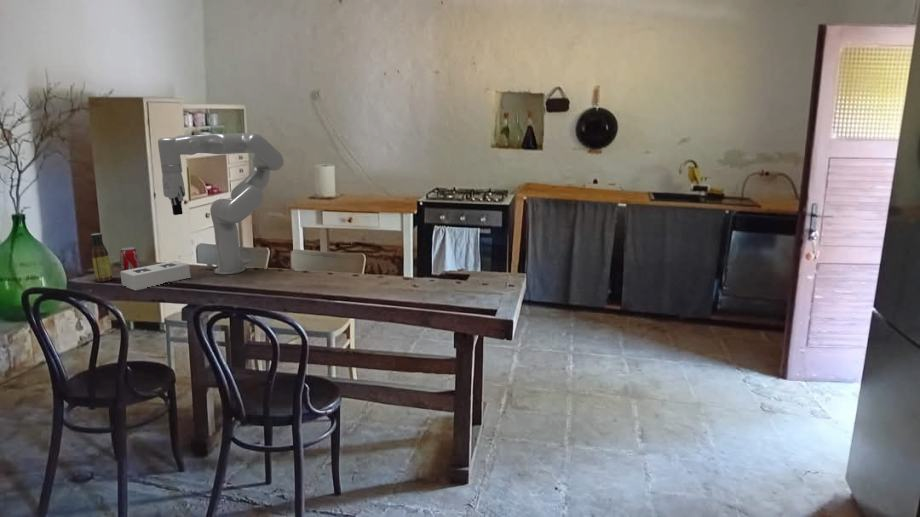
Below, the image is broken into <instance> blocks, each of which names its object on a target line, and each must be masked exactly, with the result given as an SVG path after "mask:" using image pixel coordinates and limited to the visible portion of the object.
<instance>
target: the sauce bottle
mask: <svg viewBox="0 0 920 517" xmlns="http://www.w3.org/2000/svg"><path fill="white" fill-rule="evenodd" d="M90 239H91V241H92V248H91V251H90V254H91V260H92V265H93V270H94V271H93V272H94V278H95V280H96V282H99V283H103V282H109V281H111V280H113V271H112V267H111V260H110V256H109V252H108V250H107V248H106V246H105V244H104V242H103V235H102V233H101V232H95V233H91V234H90Z"/></svg>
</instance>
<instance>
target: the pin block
mask: <svg viewBox="0 0 920 517" xmlns="http://www.w3.org/2000/svg"><path fill="white" fill-rule="evenodd" d="M166 264H174V265H175V266H171V267H166V268H164V267H162V266H163V265H166ZM141 269H148V271H146V272H141V273H136V272H135V271H136V270H141ZM186 278H192V277H191V269H190V264H188V263H184V262H181V261H178V260H171V261H168V262H162V263H158V264H157V263H155V264H152V265H146V266H140V268H135V269H130V270H124V271H122V270H121V271H120V279H121V286H122V285H123V286H122V287H124V286H126V287H125V288H127V289H130V290H133V291H134V292H135V291H140V290H144V289H148V288H147V287H150V288H152V287H151V286H154V287H157V286H156V285H159V286H161V285H160V284H163V283H165V282H168V281H173V280H179V279H186Z"/></svg>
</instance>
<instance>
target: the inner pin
mask: <svg viewBox="0 0 920 517" xmlns="http://www.w3.org/2000/svg"><path fill="white" fill-rule="evenodd" d="M171 266H175V265H174V264H166V265H163V266H162V267H164V268H166V267H171Z"/></svg>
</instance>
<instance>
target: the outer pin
mask: <svg viewBox="0 0 920 517" xmlns="http://www.w3.org/2000/svg"><path fill="white" fill-rule="evenodd" d="M146 271H148V269H141V270H136V271H135V272H136V273H141V272H146Z"/></svg>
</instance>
